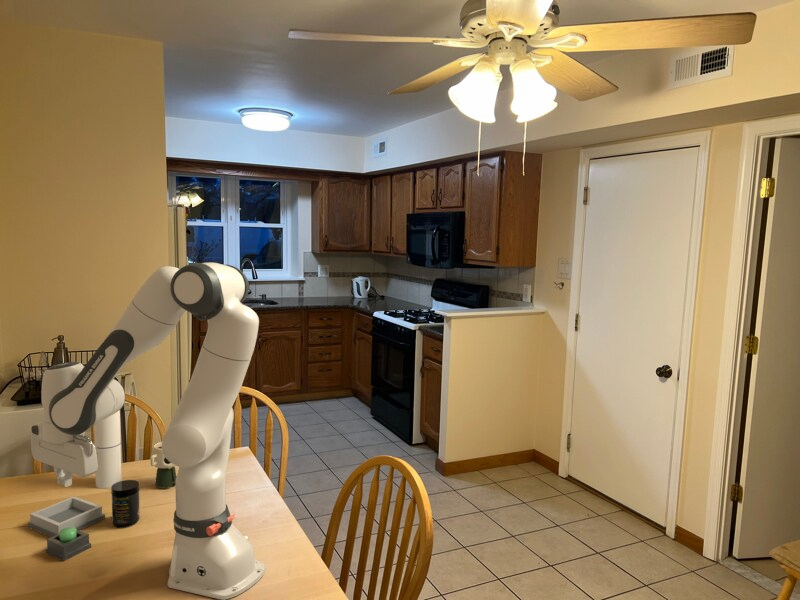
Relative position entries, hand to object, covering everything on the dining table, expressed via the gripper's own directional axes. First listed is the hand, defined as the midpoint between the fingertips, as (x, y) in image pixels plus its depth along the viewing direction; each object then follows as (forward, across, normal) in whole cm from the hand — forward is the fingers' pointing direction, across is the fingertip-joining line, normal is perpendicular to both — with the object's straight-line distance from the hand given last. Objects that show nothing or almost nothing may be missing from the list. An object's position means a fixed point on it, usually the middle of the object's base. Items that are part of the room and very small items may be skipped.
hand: (64, 484), depth 138 cm
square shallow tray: (+17, +12, -8) cm, 22 cm away
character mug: (+17, +8, -37) cm, 42 cm away
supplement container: (+17, -1, -16) cm, 23 cm away
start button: (+14, -1, 0) cm, 14 cm away
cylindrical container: (+17, +24, -29) cm, 42 cm away
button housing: (+17, -1, 0) cm, 17 cm away
